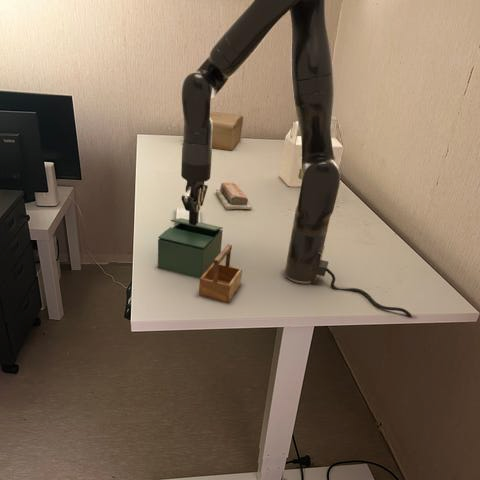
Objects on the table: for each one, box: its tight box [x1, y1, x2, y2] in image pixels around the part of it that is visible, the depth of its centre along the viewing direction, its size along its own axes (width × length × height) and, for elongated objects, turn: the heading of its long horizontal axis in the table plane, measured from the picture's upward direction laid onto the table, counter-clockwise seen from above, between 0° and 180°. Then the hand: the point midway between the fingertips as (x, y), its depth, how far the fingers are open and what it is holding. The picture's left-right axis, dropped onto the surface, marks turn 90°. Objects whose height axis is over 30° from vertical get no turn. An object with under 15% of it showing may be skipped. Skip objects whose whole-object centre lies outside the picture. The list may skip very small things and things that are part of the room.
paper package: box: [210, 110, 244, 151], centre depth 244 cm, size 27×26×14 cm
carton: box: [157, 223, 223, 279], centre depth 130 cm, size 15×13×9 cm
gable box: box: [279, 115, 344, 188], centre depth 199 cm, size 22×13×28 cm, turn 103°
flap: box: [170, 218, 224, 231], centre depth 130 cm, size 7×13×1 cm, turn 73°
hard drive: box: [175, 207, 201, 225], centre depth 158 cm, size 2×8×12 cm
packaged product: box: [215, 182, 253, 211], centre depth 176 cm, size 18×5×10 cm
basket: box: [198, 243, 243, 304], centre depth 118 cm, size 10×8×11 cm
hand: (193, 223), depth 127 cm, fingers closed
